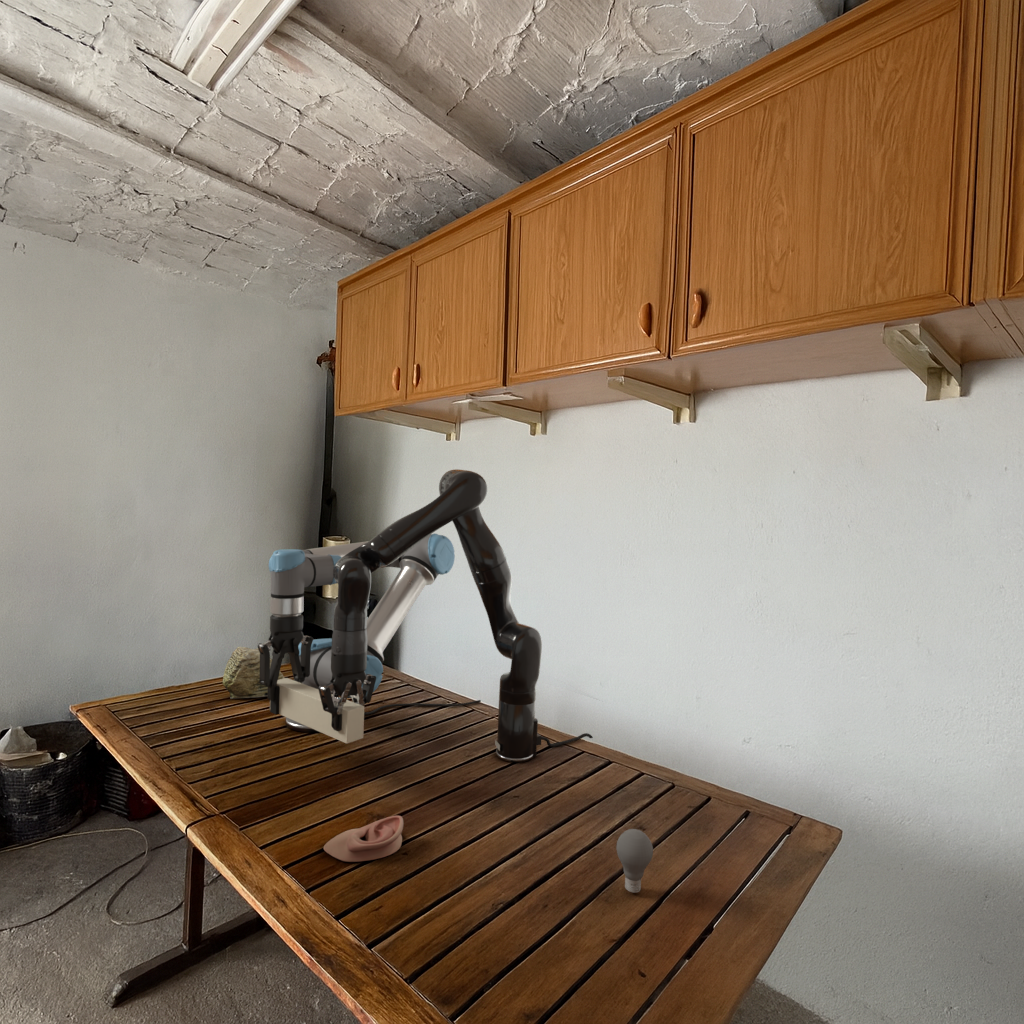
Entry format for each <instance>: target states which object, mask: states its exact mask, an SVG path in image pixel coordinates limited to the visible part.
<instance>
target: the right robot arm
mask: <svg viewBox="0 0 1024 1024" xmlns="http://www.w3.org/2000/svg"><path fill="white" fill-rule="evenodd" d="M438 493H439V496H437V498H435V499H433V500H432V501H430V502H429V503H428V504H426V505H425V506H423V507H421V508H419V509H417V510H415V511H413V512H411V513H409V514H407V515H405V516H403V517H401V518H399V519H397V520H396V521H393V522H392V523H391V524H390V525H388V526H386V527H385V528H384V529H383V530H381V531H380V532H378V533H377V534H376V535H374V536H373V537H372V538H370V540H368V542H367V541H366V542H367V543H365V544H363V545H361V546H359V547H358V548H356V549H354V550H352V551H351V552H349V553H348V554H346V555H345V556H343V557H342V558H341V559H339V560H338V561H337V563H336V564H335V566H334V569H333V577H334V579H335V581H336V582H337V583H336V584H337V602H336V603H335V605H334V609H333V625H332V626H333V627H332V635H331V639H332V648H331V671H332V678H331V680H330V683H328V684H327V685H325V686H322V685H321V686H319V688H318V689H319V694H320V698H321V702H322V706H323V710H324V711H326V712H329V713H331V714H332V721H331V726H332V728H333V729H334V730H336V731H341V730H342V714H341V712H342V709H343V705H344V704H345V703H346V700H348V698H347V697H349V696H351V698H350V699H351V702H354V703H357V704H359V705H362V706H364V707H365V705H366V704H370V703H371V701H372V697H373V693H374V692H373V690H374V686H375V682H376V676H373V675H370V674H365V670H366V668H367V619H368V604H369V599H370V593H371V589H372V588H371V587H372V574H373V573H375V572H376V571H377V570H378V569H381V568H380V567H382V566H387V565H389V564H391V563H393V562H394V561H396V560H397V559H398V558H399V557H401V556H402V555H403V554H405V553H406V552H407V551H409V550H410V549H411V548H413V547H414V546H415V545H416V544H418V543H419V542H420V541H422V540H423V539H425V538H426V537H428V536H429V535H430V534H434V533H435V532H436V531H438V530H440V529H441V528H443V527H445V526H446V525H448V524H450V523H451V522H452V523H453V525H454V528H455V530H456V532H457V535H458V538H459V542H460V544H461V547H462V550H463V553H464V556H465V559H466V561H467V564H468V568H469V570H470V573H471V576H472V578H473V581H474V583H475V586H476V588H477V590H478V593H479V595H480V598H481V601H482V604H483V607H484V610H485V612H486V615H487V618H488V621H489V626H490V630H491V634H492V637H493V641H494V645H495V647H496V650H497V651H498V653H499V654H500V655H501V656H503V657H505V658H506V659H509V660H511V662H510V670H509V671H508V672H504V673H503V674H501V675H500V677H499V691H498V714H497V737H496V739H494V746H495V747H496V750H495V755H496V757H497V758H498V759H500V760H502V761H505V762H509V763H524V762H528V761H530V760H532V759H533V758H537V749H538V748H537V747H538V746H542V741H544V742H546V744H547V747H549V748H557V747H561V746H563V745H568V744H570V743H573V742H577V741H580V740H581V739H583V738H589V739H594V737H593V736H592V735H591V734H590V733H588V732H586V733H581V734H580V735H578V736H575V737H572V738H569V739H566V740H562V741H559V742H556V743H551V740H550V739H549V738H548V737H547V736H542V735H541V734H540V733H538V726H539V725H538V724H539V720H538V718H537V717H536V697H537V696H536V695H537V682H538V681H539V678H540V675H541V666H542V657H543V655H542V654H543V638H542V635H541V633H540V631H539V630H538V629H536V628H535V627H533V626H530V625H527V624H524V623H520V621H519V620H518V618H517V616H516V613H515V611H514V608H513V606H512V602H511V594H512V586H513V585H512V584H513V574H512V570H511V567H510V564H509V562H508V559H507V556H506V553H505V551H504V549H503V547H502V546H501V544H500V542H499V540H498V539H497V538H496V536H495V534H494V533H493V532H492V530H491V529H490V528H489V526H488V525H487V523H486V520H484V518H483V517H484V516H483V515H482V512H481V509H480V506H481V505H482V504H483V503H484V502H485V500H486V498H487V495H488V485H487V481H486V480H485V478H484V477H483V476H482V475H481V474H479V473H478V472H475V471H472V470H466V469H450V470H448V471H446V472H445V473H444V474H443V475H441V478H440V480H439V484H438ZM362 684H363V687H361V686H362ZM332 689H334V692H332ZM332 693H333V696H332V695H331V694H332ZM366 693H367V695H366ZM339 697H340V698H339Z"/></svg>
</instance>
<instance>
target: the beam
mask: <svg viewBox="0 0 1024 1024" xmlns="http://www.w3.org/2000/svg"><path fill="white" fill-rule="evenodd" d="M277 686H279V687H280V693H279V714H278V715H280V716H282V717H284V718H286V717H287V718H289V719H291V720H294V721H296V722H298V723H300V724H303V725H305V726H307V727H310V728H312V729H314V730H317V731H318V732H319V733H321V734H324V735H326V736H328V737H331V738H333V739H335V740H338V741H339V742H341V743H345V744H351V743H353V742H356V741H359V740H361V739H364V729H365V725H364V724H365V715H364V712H365V705H364V706H362V705H359V704H357V703H354V702H353V701H352V700H348V699H347V700H346V703H345V704H344V705H343V709H342V712H341V714H342V730H341V731H336V730H334V729H333V728H332V726H331V721H332V714H331V713H329V712H326V711H324V710H323V706H322V702H321V698H320V694H319V689H316V688H313V687H310V686H308V685H305V684H302V683H299V682H297V681H294V679H291V678H288V677H285V678H284V679H279V680H278V681H277ZM331 695H332V694H331ZM332 696H333V695H332ZM339 698H341V696H339Z"/></svg>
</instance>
